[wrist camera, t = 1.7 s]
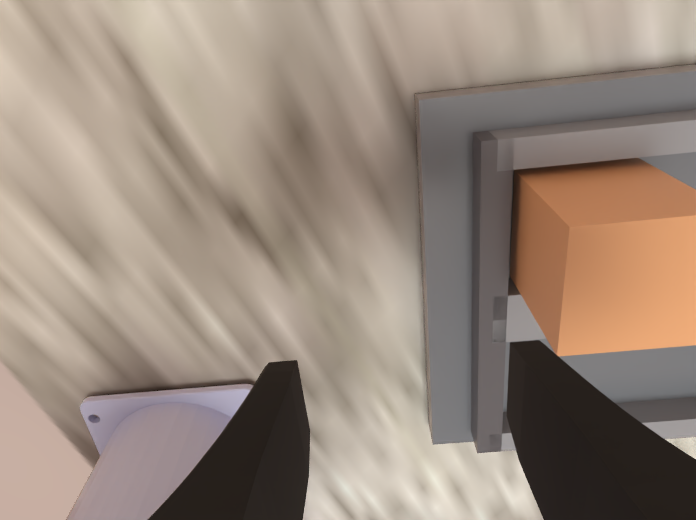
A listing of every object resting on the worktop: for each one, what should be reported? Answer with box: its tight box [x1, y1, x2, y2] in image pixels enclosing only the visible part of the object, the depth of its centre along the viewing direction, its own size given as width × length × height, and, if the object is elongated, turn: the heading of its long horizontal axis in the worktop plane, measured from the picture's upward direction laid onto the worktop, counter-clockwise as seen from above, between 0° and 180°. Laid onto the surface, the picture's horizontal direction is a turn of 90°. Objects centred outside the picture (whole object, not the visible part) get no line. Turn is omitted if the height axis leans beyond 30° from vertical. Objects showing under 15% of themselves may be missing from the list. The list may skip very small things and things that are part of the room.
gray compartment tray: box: [415, 64, 696, 453], centre depth 19 cm, size 15×19×2 cm
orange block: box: [510, 158, 696, 356], centre depth 16 cm, size 4×4×5 cm
